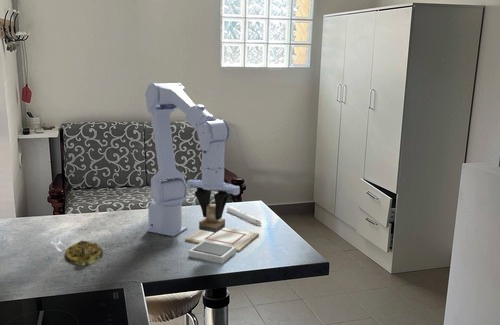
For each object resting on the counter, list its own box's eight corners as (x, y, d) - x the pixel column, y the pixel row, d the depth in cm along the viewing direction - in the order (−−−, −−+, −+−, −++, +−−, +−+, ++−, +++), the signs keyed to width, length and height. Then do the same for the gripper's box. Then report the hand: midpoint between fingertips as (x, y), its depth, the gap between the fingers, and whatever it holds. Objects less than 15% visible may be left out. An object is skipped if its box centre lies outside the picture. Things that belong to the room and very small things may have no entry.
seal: (63, 251, 134) (69, 272, 120) (60, 235, 132) (66, 255, 119) (98, 243, 137) (108, 262, 124) (95, 227, 136) (105, 245, 123)
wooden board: (185, 240, 140) (185, 238, 140) (208, 226, 152) (208, 223, 152) (238, 251, 133) (239, 249, 133) (258, 235, 146) (258, 233, 146)
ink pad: (188, 256, 129) (188, 249, 129) (203, 246, 137) (203, 240, 136) (222, 263, 125) (222, 256, 125) (235, 252, 133) (235, 246, 132)
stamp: (199, 229, 128) (199, 206, 127) (208, 223, 133) (208, 202, 131) (215, 232, 126) (216, 209, 125) (224, 227, 130) (225, 204, 129)
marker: (263, 226, 155) (264, 219, 154) (258, 227, 154) (258, 220, 153) (231, 211, 169) (231, 204, 168) (226, 212, 168) (226, 205, 167)
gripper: (180, 166, 125) (180, 217, 128) (231, 173, 119) (230, 226, 122) (194, 161, 131) (194, 210, 134) (243, 167, 126) (242, 218, 129)
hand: (212, 217), depth 129 cm, fingers closed on stamp, 3 cm apart
